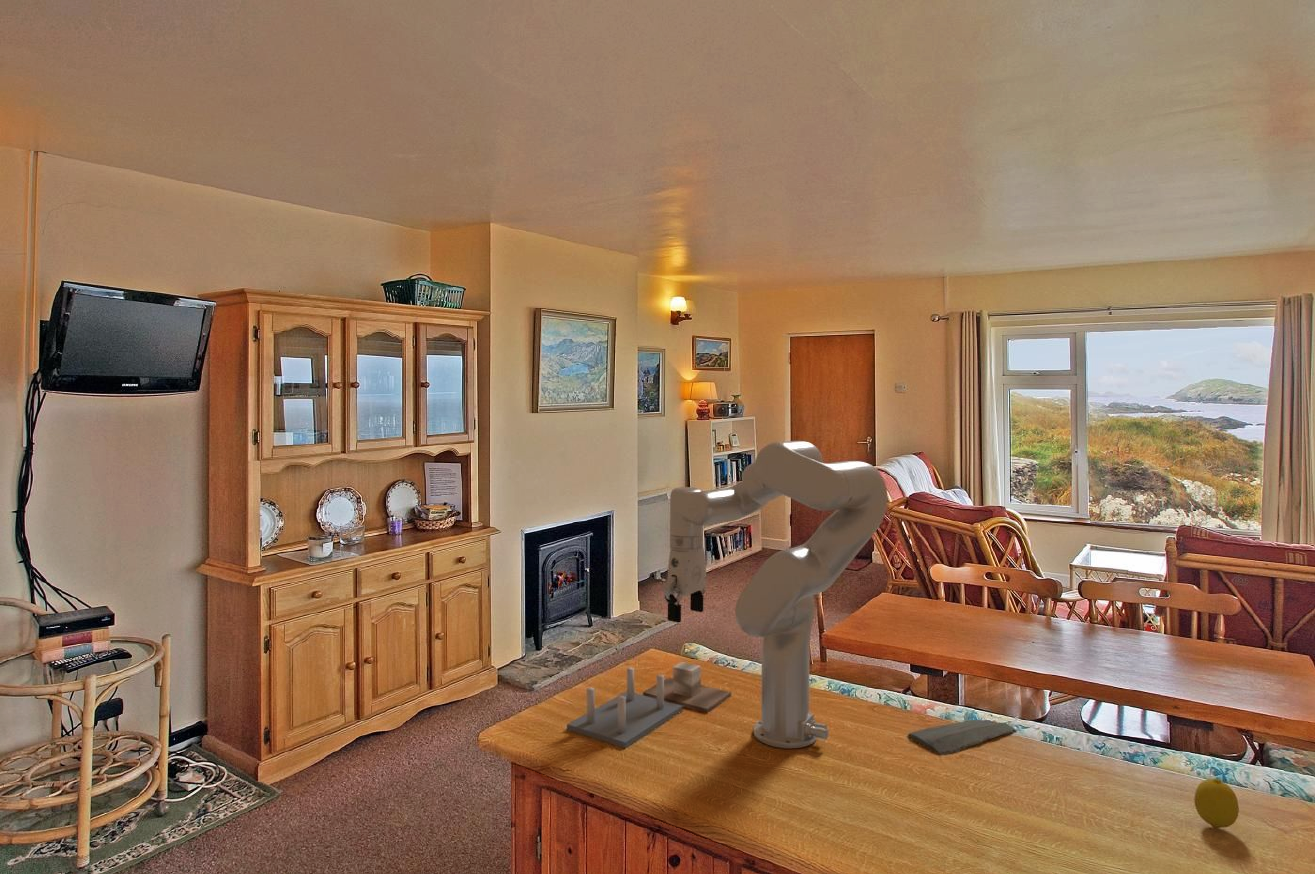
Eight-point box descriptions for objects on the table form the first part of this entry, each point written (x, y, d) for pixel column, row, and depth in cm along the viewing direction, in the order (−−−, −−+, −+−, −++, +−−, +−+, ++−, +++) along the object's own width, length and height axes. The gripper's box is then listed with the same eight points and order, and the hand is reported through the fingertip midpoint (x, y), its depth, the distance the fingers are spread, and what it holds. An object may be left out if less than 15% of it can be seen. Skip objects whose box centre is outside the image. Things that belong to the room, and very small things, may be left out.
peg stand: (682, 711, 161) (682, 674, 161) (625, 748, 144) (625, 707, 143) (627, 696, 170) (627, 660, 169) (566, 729, 152) (566, 690, 152)
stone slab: (904, 744, 149) (943, 759, 140) (903, 730, 149) (942, 744, 140) (981, 723, 159) (1022, 736, 150) (979, 710, 159) (1020, 722, 150)
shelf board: (731, 698, 169) (731, 666, 169) (707, 715, 160) (707, 681, 160) (668, 683, 179) (668, 652, 178) (643, 698, 170) (642, 666, 169)
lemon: (1185, 819, 119) (1186, 770, 118) (1217, 817, 119) (1218, 769, 119) (1213, 839, 113) (1215, 788, 113) (1247, 837, 114) (1249, 786, 113)
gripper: (680, 550, 159) (679, 628, 160) (719, 537, 173) (718, 609, 174) (651, 546, 163) (650, 622, 164) (692, 534, 177) (691, 604, 178)
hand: (685, 615), depth 169 cm, fingers open, 9 cm apart
